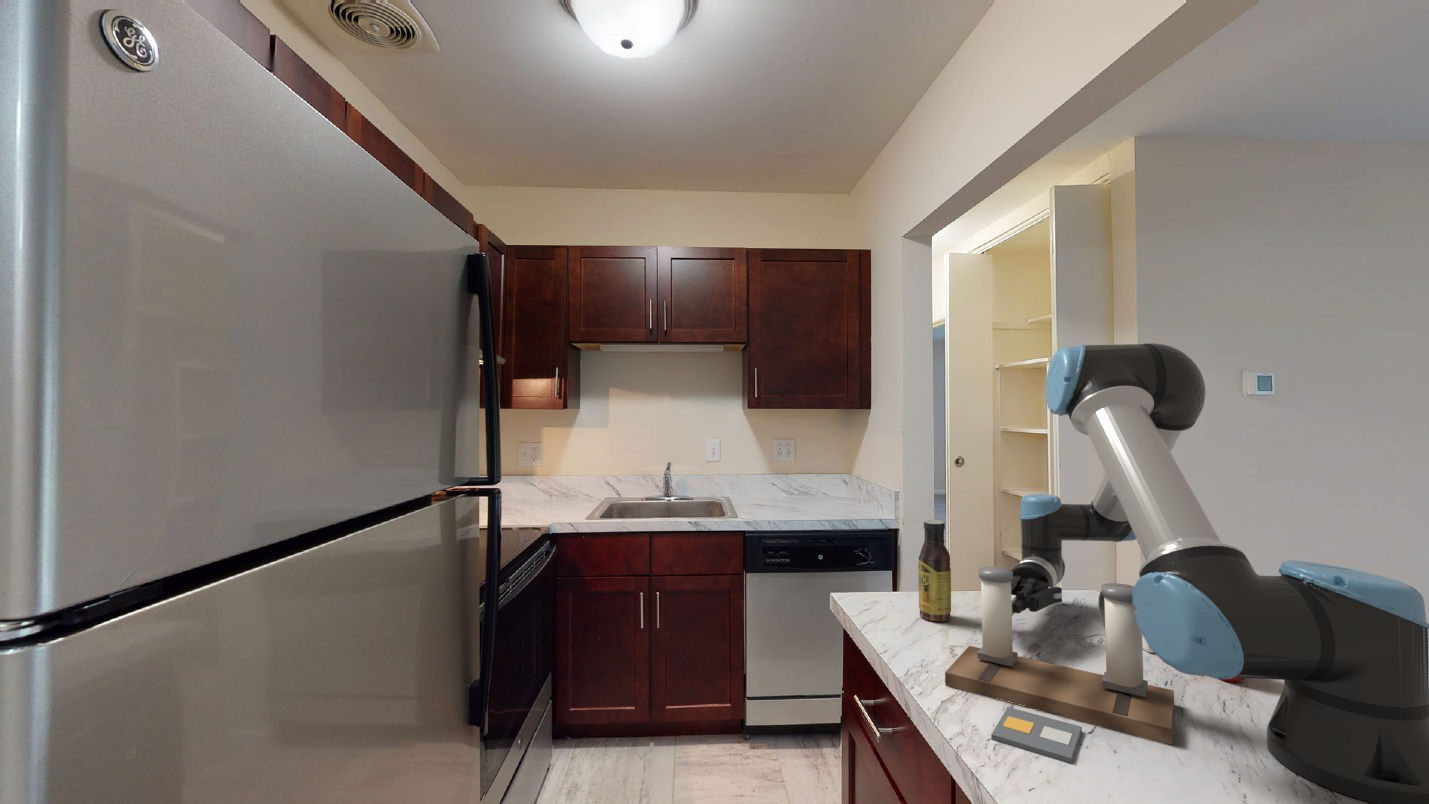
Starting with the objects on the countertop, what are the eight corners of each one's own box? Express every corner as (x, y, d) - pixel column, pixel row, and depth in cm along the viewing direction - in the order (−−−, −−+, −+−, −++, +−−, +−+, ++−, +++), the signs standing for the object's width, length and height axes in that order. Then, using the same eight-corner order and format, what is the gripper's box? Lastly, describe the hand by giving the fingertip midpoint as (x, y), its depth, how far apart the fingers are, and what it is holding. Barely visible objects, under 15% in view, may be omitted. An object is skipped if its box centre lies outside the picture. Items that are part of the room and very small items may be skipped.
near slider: (1148, 685, 87) (1145, 587, 87) (1146, 699, 83) (1143, 595, 83) (1105, 676, 90) (1102, 581, 90) (1101, 689, 86) (1098, 589, 86)
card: (1081, 731, 79) (1081, 725, 79) (1071, 763, 72) (1071, 757, 72) (1007, 710, 85) (1007, 705, 85) (991, 738, 78) (991, 733, 78)
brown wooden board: (1174, 704, 86) (1173, 689, 86) (1172, 745, 76) (1171, 728, 76) (969, 657, 103) (969, 645, 103) (945, 685, 93) (945, 671, 93)
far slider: (1018, 657, 97) (1016, 569, 97) (1011, 668, 93) (1009, 576, 94) (984, 650, 101) (982, 564, 101) (976, 660, 97) (974, 571, 97)
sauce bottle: (915, 612, 126) (913, 517, 127) (946, 612, 126) (944, 517, 126) (923, 623, 120) (921, 523, 120) (956, 624, 119) (953, 523, 120)
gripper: (1070, 605, 116) (1046, 643, 97) (997, 593, 124) (963, 626, 105) (1069, 565, 116) (1045, 597, 97) (996, 556, 124) (961, 583, 105)
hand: (1002, 612), depth 101 cm, fingers closed
